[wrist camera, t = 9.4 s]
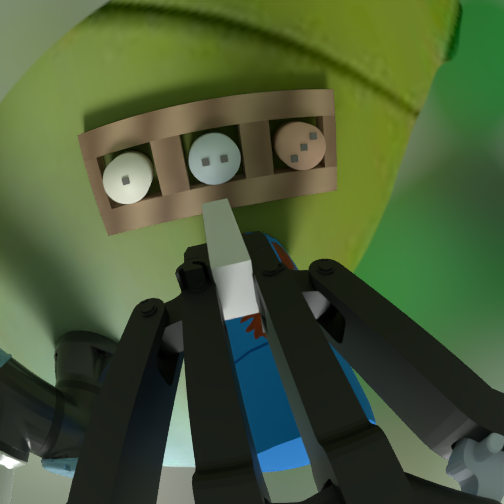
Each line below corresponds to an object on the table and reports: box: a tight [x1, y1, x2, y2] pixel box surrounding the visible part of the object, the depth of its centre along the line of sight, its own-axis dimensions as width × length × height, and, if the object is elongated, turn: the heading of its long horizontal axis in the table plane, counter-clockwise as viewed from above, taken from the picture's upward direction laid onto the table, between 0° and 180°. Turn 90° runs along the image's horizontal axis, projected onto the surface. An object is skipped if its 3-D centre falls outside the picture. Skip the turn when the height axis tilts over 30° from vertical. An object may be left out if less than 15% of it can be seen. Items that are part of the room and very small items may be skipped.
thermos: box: [225, 232, 376, 472], centre depth 27 cm, size 11×11×25 cm
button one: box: [103, 150, 154, 204], centre depth 26 cm, size 5×5×3 cm
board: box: [77, 89, 337, 236], centre depth 28 cm, size 27×12×2 cm, turn 96°
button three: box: [272, 121, 326, 170], centre depth 28 cm, size 5×5×3 cm
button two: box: [189, 131, 241, 185], centre depth 27 cm, size 5×5×3 cm
